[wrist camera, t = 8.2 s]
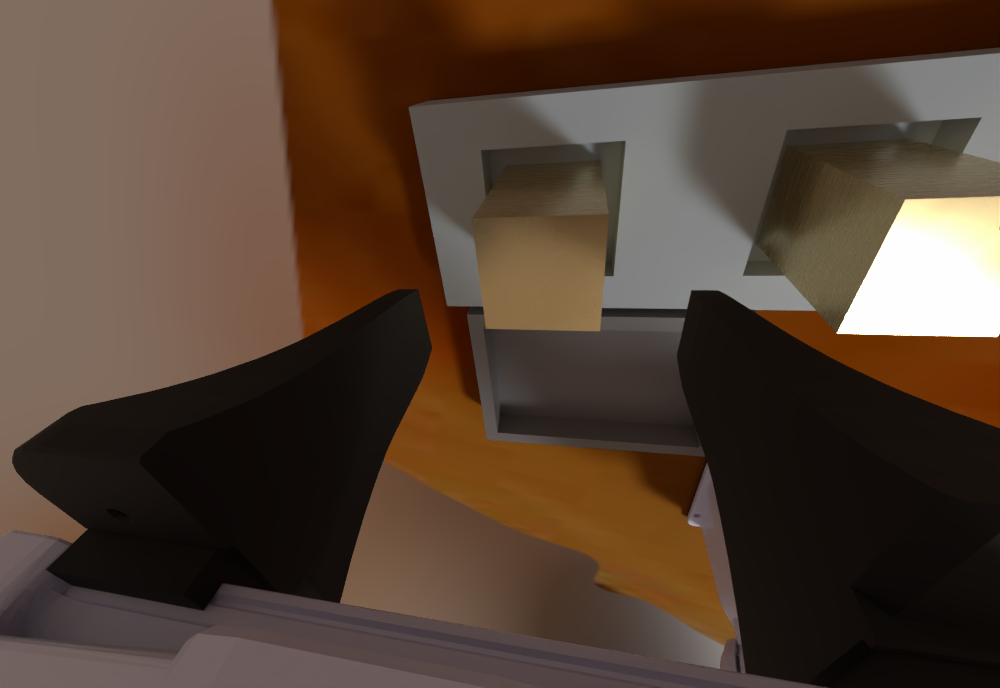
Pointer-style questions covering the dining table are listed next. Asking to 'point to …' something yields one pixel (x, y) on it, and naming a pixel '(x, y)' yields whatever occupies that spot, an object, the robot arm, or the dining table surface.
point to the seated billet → (889, 236)
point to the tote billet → (543, 247)
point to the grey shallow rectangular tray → (587, 383)
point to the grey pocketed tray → (691, 161)
